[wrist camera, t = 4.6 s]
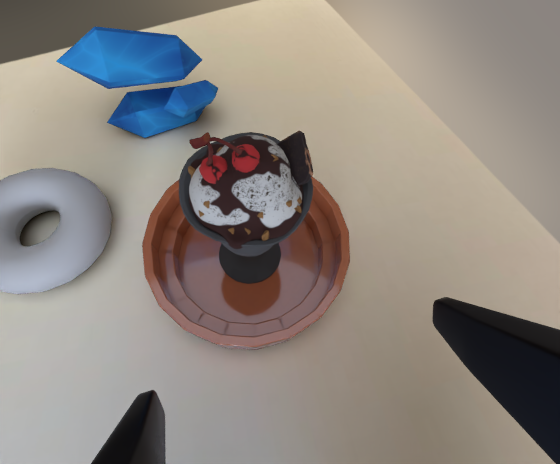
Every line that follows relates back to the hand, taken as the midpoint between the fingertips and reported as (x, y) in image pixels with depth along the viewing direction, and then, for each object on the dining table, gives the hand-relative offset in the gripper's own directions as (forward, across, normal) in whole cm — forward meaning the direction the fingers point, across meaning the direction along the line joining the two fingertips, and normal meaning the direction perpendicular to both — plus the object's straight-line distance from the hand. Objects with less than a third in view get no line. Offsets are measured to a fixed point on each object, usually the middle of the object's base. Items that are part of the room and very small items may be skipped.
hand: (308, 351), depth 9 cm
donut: (+20, +15, 0) cm, 24 cm away
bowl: (+15, 0, +4) cm, 16 cm away
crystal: (+27, +5, -7) cm, 28 cm away
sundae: (+15, 0, +4) cm, 16 cm away
